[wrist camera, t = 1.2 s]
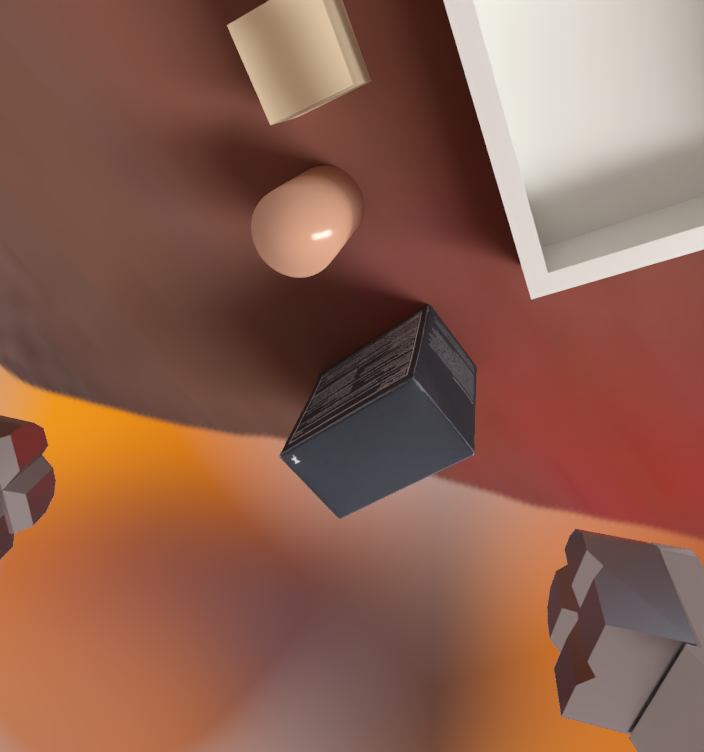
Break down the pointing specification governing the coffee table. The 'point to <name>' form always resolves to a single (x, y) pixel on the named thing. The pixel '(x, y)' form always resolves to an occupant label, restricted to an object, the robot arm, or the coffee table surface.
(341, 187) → the peach capsule
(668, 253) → the white tote
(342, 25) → the maple cube
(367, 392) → the small box
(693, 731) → the robot arm
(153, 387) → the coffee table surface
